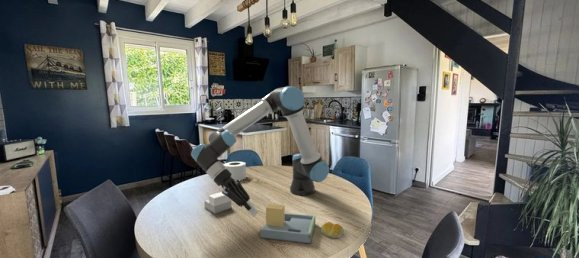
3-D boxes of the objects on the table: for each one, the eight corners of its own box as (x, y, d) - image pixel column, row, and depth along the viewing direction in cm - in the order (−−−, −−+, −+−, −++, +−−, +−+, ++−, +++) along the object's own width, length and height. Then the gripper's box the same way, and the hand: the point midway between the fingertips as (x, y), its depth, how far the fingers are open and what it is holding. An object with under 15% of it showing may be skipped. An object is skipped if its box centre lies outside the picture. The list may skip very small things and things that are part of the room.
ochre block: (266, 224, 102) (265, 207, 101) (269, 220, 106) (268, 203, 105) (282, 226, 100) (282, 209, 99) (284, 222, 104) (284, 205, 103)
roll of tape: (228, 174, 184) (228, 161, 183) (248, 175, 183) (248, 161, 181) (220, 181, 169) (220, 166, 168) (242, 181, 167) (242, 166, 166)
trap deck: (260, 238, 96) (260, 227, 96) (272, 219, 112) (271, 210, 111) (310, 244, 92) (310, 232, 91) (315, 223, 107) (315, 214, 107)
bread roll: (326, 226, 106) (326, 217, 105) (345, 232, 101) (346, 222, 100) (317, 235, 99) (317, 225, 98) (338, 241, 94) (338, 231, 93)
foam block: (221, 203, 133) (221, 188, 132) (231, 208, 125) (231, 193, 125) (204, 208, 126) (204, 192, 125) (214, 214, 119) (213, 198, 118)
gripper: (221, 175, 114) (256, 212, 112) (206, 184, 101) (244, 226, 99) (231, 164, 112) (266, 202, 110) (217, 172, 99) (256, 215, 97)
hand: (256, 213), depth 104 cm, fingers closed
